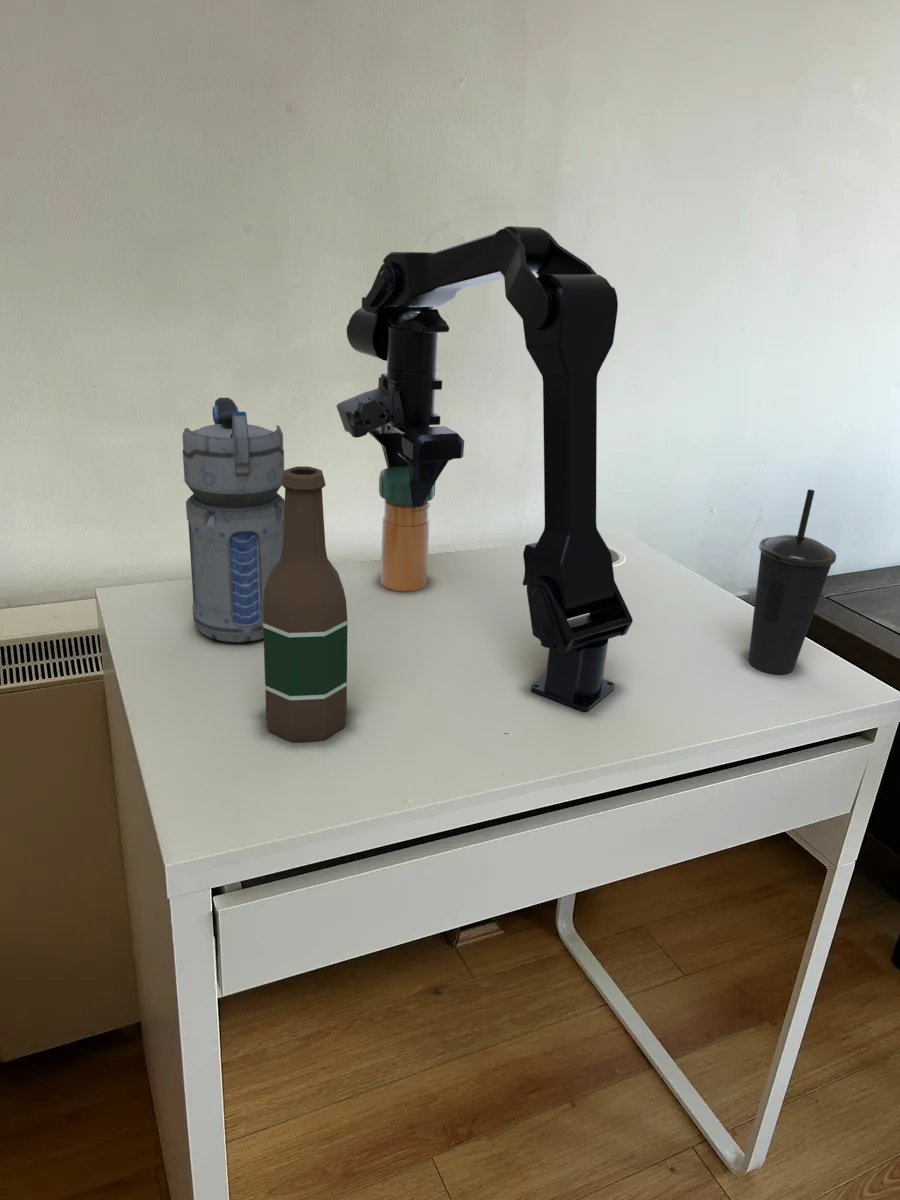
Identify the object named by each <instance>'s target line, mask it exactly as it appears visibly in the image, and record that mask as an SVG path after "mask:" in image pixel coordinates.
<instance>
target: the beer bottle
mask: <svg viewBox="0 0 900 1200" xmlns="http://www.w3.org/2000/svg"><path fill="white" fill-rule="evenodd" d="M281 481H282V486H281V487H283V488H284V501H285V505H284V529H283V545H282V551H281V557H280V560H279V561H278V563H277V564H276V566H275V567H274V569H273V570H272V571H271V573H270V574H269V577H268V580H267V583H266V585H265V588H264V599H263V633H264V638H263V653H264V654H263V659H264V660H263V662H264V663H263V664H264V690H265V691H264V692H265V693H264V695H265V715H266V717H265V718H266V727H267V730H268V732H270V733H271V734H273V735H276V736H278V737H280V738H282V739H284V740H286V741H289V742H290V743H305V742H307V743H308V742H324V741H325V740H327V739H328V738H330V737H332V736H333V735H334V734H336V733H337V732H339V731H341V730H342V729H344V727H345V726H346V721H347V710H348V709H347V706H348V705H347V704H348V703H347V702H348V620H349V619H348V610H347V609H348V606H347V599H346V594H345V589H344V586H343V583H342V580H341V577H340V574H339V572H338V570H337V569H336V568H335V566H334V565H333V563H332V562H331V561H330V560H329V558H328V554H327V548H326V547H327V546H326V534H325V533H326V532H325V518H324V517H325V516H324V502H323V500H324V499H323V488H325V487H326V486H327V485H326V481H325V476H324V473H323V470H322V469H319V468H316V467H312V466H293V467H290V468H287V469H284V472H283V476H282V480H281Z"/></svg>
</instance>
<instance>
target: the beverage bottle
mask: <svg viewBox="0 0 900 1200" xmlns="http://www.w3.org/2000/svg"><path fill="white" fill-rule="evenodd" d="M211 410H212V411H211V412H212V421H213V423H214V424H209V425H206V426H202V427H200V428H198V429H195V430H191V429H190V428H189V427H185V428H184V430H183V432H182V435H181V436H182V448H183V449H182V460H183V461H182V463H183V476H184V477H183V479H184V483H185V484H186V486H187V487H188V488H189V490H190V491H191V492H192V493H193V494H191V495H190V496H189V497H188V498H187V499H186V501H185V509H186V520H187V523H188V540H189V555H190V569H191V570H190V571H191V585H192V619H193V620H192V621H193V622H194V624H195V626H196V627H197V629H198V630H199V632H200V633H201V634H203V635H204V636H206V637H208V638H210V639H212V640H214V639H216V640H217V641H221V642H228V643H245V642H254V641H259V640H262V639H263V640H264V633H263V599H264V588H265V585H266V583H267V580H268V577H269V574H270V573H271V571H272V570H273V569H274V567H275V566H276V564H277V563H278V561H279V560H280V557H281V551H282V545H283V529H284V505H285V498H284V497H282V496H281V494H279V493H278V492H279V490H280V489H281V487H283V486H282V481H281V480H282V476H283V472H284V470H285V450H284V434H283V431H282V429H281V427H280V425H275V426H276V429H275V430H270V429H267V428H266V427H262V426H259V425H255V424H248V417H247V412H246V411H239V407H238V406H237V405H236V403H235V402H234V400H233V399H231V398H229V397H219V398H217V399H216V400H215V401H214V405H213V406H212V409H211Z"/></svg>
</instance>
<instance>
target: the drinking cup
mask: <svg viewBox="0 0 900 1200" xmlns="http://www.w3.org/2000/svg"><path fill="white" fill-rule="evenodd" d="M814 495H815V489H807V491H806V495H805V501H804V505H803V508H802V513H801V518H800V522H799V527H798V530H797V534H780V535H777V536H769V537H766V538H763V539H761V541H760V542H759V544H758V548H759V551H760V555H759V564H758V572H757V583H756V591H755V600H754V608H753V617H752V626H751V634H750V644H749V651H748V663H749V664H750V665H751V667H753V668H755V669H757V670H758V671H761V672H763V673H767V674H771V675H788V674H791V673H792V672H794V669H795V666H796V664H797V661H798V659H799V655H800V653H801V651H802V646H803V644H804V642H805V638H806V637H807V633H808V630H809V629H810V625H811V621H812V620H813V616H814V614H815V611H816V609H817V605H818V603H819V601H820V598H821V595H822V594H821V593H822V591H823V589H824V586H825V583H826V581H827V578H828V575H829V572H830V569H831V566H832V565H833V564H834V563H836V560H837V553H836V552H835V551H834V550H833V549H832V548H830V547H828V546H827V545H825V544H823V543H822V542H820V541H818V540H816V539H814V538H811V537H808V536H805V535H806V530H807V526H808V521H809V517H810V514H811V513H810V512H811V510H812V509H811V508H812V503H813V500H814Z"/></svg>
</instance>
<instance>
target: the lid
mask: <svg viewBox="0 0 900 1200" xmlns="http://www.w3.org/2000/svg"><path fill="white" fill-rule="evenodd" d="M378 493H379V496H380V497H381V498H382V499H383V500H384V501H385V500H388V501H391V502H396V503H405V504H412V497H411V487H410V476H409V466H398V467H390V468H387V467H386V468H384V469H382V470H380V472H379V477H378ZM435 496H436V483H435V484H434V486H433V487H432V489H431V491H430V493H429V495H428V496H427V498H426V500H425V502H427V501H429V502H430V501H432V500H433V499H434V497H435Z"/></svg>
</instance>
